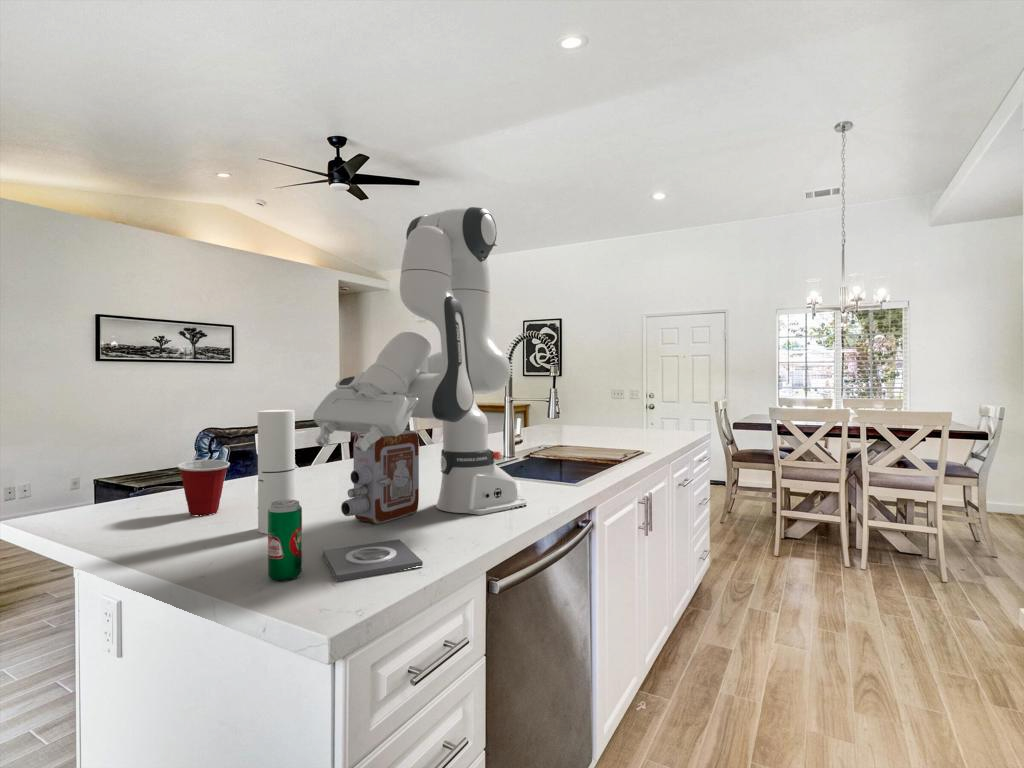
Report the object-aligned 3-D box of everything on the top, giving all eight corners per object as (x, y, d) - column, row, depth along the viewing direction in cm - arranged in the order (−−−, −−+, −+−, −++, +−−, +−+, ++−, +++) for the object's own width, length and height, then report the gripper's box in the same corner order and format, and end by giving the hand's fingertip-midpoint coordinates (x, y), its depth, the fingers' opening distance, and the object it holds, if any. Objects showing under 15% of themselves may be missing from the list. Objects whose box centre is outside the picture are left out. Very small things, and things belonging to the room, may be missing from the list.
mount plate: (399, 544, 104) (399, 538, 104) (422, 567, 92) (422, 560, 92) (323, 555, 97) (323, 548, 97) (336, 581, 85) (336, 574, 85)
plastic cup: (193, 522, 120) (192, 467, 119) (167, 515, 125) (167, 463, 125) (240, 511, 129) (239, 461, 129) (214, 505, 134) (214, 457, 134)
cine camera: (329, 526, 117) (329, 433, 116) (395, 507, 133) (395, 426, 132) (358, 533, 111) (358, 436, 111) (423, 513, 128) (423, 428, 127)
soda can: (262, 577, 87) (262, 502, 87) (293, 569, 91) (292, 497, 90) (276, 585, 84) (276, 508, 83) (307, 576, 87) (307, 502, 87)
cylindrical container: (281, 535, 110) (281, 412, 110) (250, 533, 111) (249, 411, 111) (302, 525, 117) (301, 410, 117) (272, 523, 118) (272, 409, 118)
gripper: (428, 406, 103) (392, 463, 94) (348, 401, 112) (308, 452, 103) (414, 382, 99) (376, 439, 90) (332, 379, 108) (290, 430, 100)
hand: (339, 446), depth 97 cm, fingers open, 8 cm apart
